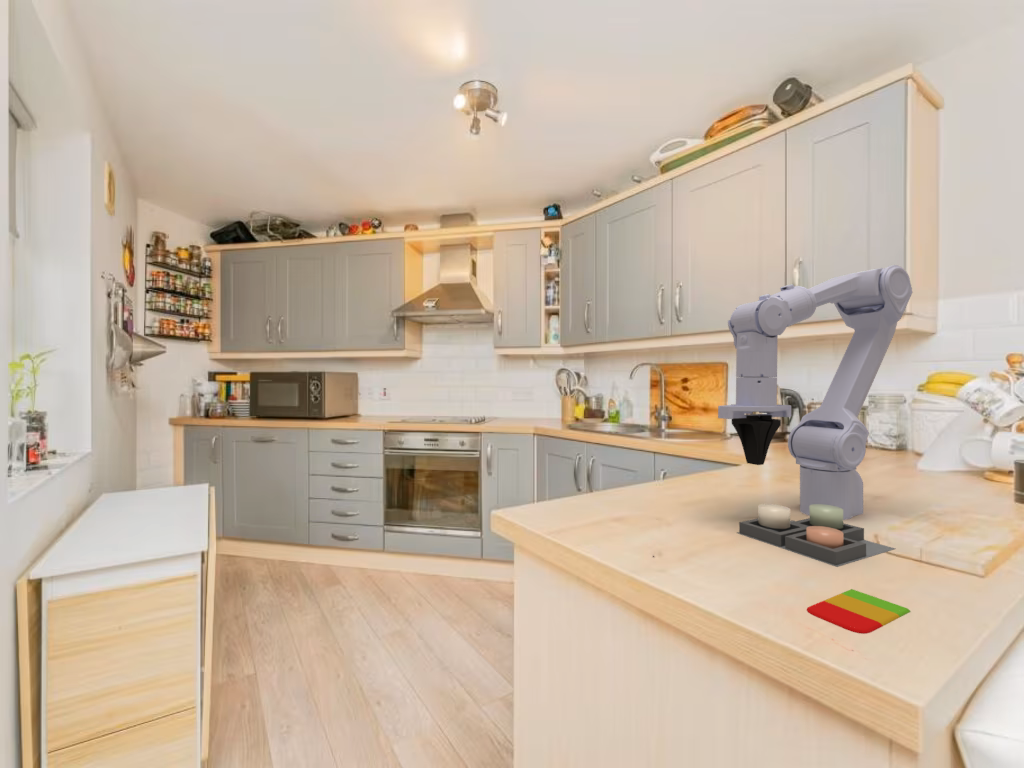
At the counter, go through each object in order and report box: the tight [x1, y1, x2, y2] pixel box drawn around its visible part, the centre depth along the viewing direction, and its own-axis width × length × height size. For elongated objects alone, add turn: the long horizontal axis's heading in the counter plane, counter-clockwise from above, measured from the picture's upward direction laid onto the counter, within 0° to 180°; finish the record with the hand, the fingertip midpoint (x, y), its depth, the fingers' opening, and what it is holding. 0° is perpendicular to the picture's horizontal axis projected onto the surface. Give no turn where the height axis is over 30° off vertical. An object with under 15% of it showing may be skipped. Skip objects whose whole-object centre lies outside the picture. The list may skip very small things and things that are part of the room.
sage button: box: [809, 504, 844, 529], centre depth 67 cm, size 4×4×2 cm
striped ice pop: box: [806, 588, 911, 635], centre depth 47 cm, size 6×15×2 cm, turn 118°
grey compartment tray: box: [736, 517, 896, 568], centre depth 65 cm, size 13×14×3 cm
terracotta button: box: [806, 526, 844, 549], centre depth 61 cm, size 4×4×2 cm
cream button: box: [757, 503, 791, 529], centre depth 67 cm, size 4×4×2 cm
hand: (755, 463), depth 73 cm, fingers closed
